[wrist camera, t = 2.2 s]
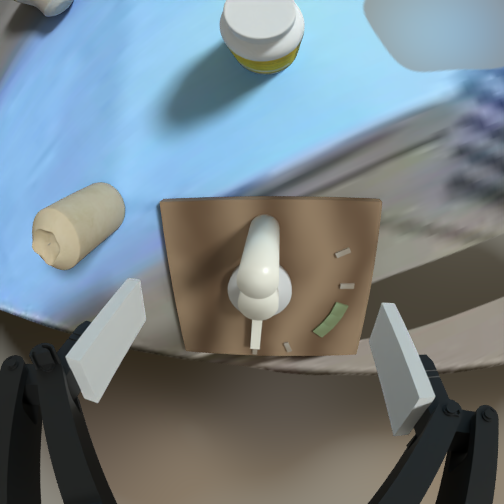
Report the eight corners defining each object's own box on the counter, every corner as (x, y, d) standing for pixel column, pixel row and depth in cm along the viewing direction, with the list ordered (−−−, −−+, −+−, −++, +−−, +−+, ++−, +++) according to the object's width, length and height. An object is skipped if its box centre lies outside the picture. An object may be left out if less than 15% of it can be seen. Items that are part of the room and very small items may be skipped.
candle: (130, 230, 30) (78, 279, 21) (88, 233, 30) (33, 277, 21) (120, 178, 27) (59, 210, 18) (78, 185, 28) (14, 217, 19)
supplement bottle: (305, 69, 22) (319, 43, 13) (241, 81, 23) (220, 62, 14) (289, 14, 20) (294, -34, 11) (227, 27, 21) (200, -15, 12)
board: (187, 345, 36) (185, 352, 34) (163, 199, 28) (158, 202, 27) (354, 348, 34) (356, 355, 33) (378, 198, 26) (383, 202, 25)
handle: (231, 211, 27) (208, 258, 18) (300, 217, 26) (309, 266, 18) (228, 341, 33) (213, 406, 25) (282, 346, 33) (281, 412, 24)
